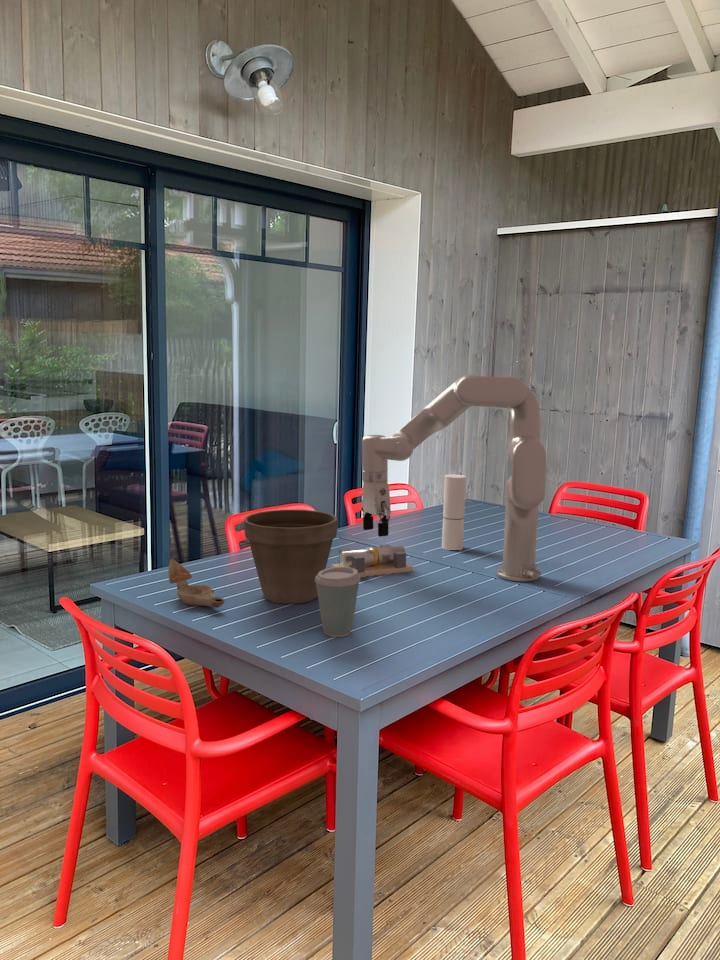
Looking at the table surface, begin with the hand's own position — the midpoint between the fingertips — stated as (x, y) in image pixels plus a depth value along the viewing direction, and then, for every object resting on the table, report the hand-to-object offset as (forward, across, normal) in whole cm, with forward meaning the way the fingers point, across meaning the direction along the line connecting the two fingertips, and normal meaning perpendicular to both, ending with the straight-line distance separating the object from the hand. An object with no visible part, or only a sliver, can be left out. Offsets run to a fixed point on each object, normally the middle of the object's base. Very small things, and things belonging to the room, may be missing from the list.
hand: (375, 532), depth 232 cm
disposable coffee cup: (+12, -43, +33) cm, 56 cm away
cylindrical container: (+13, +15, -37) cm, 42 cm away
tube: (+10, 0, +1) cm, 10 cm away
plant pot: (+11, -13, +33) cm, 37 cm away
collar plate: (+12, +1, +1) cm, 12 cm away
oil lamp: (+10, -10, +58) cm, 59 cm away
